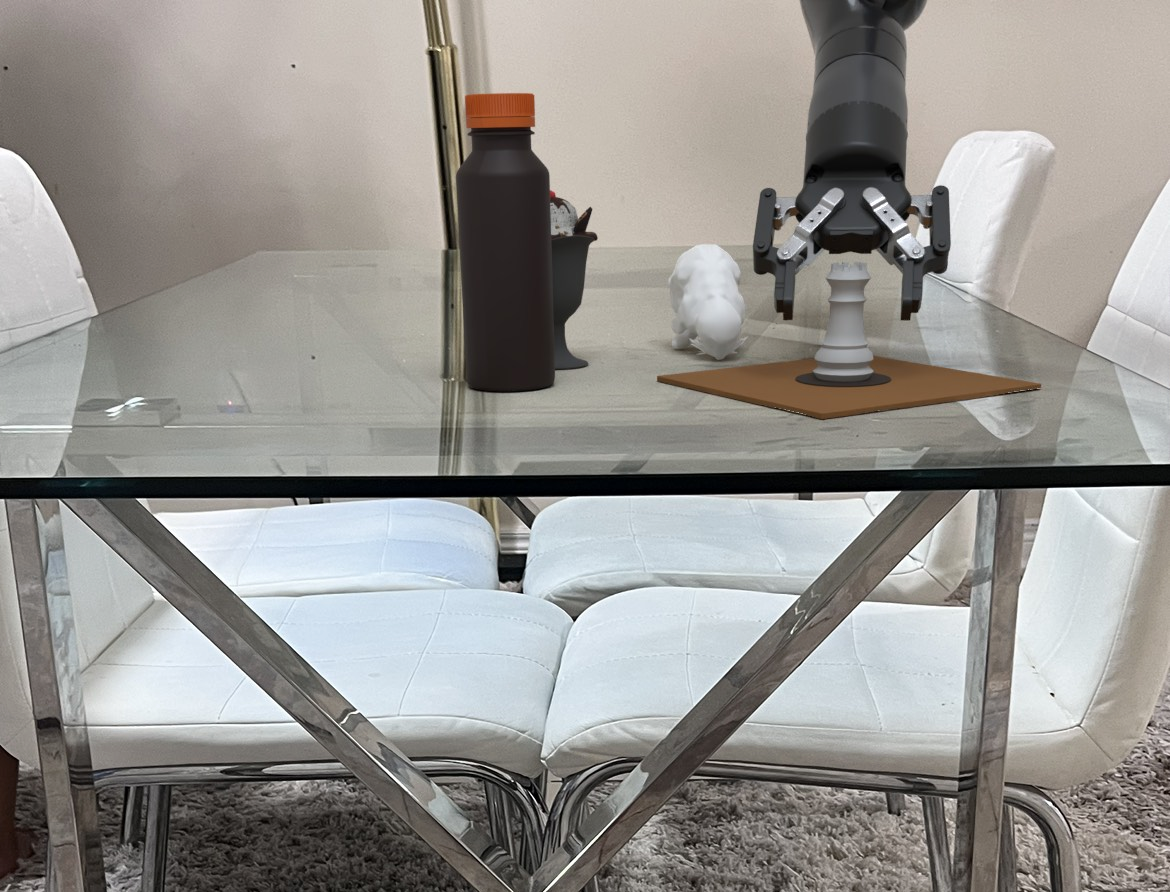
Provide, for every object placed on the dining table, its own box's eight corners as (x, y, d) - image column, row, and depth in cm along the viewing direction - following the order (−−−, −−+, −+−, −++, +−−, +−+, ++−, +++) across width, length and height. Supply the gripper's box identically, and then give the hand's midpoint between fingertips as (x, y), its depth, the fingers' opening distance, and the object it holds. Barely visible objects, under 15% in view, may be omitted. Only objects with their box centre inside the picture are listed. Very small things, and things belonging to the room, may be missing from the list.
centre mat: (1041, 389, 101) (1041, 382, 100) (821, 419, 92) (822, 411, 91) (858, 358, 116) (859, 351, 116) (656, 381, 108) (656, 374, 107)
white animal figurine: (738, 239, 122) (765, 263, 112) (733, 338, 127) (759, 371, 116) (666, 240, 122) (686, 265, 112) (664, 341, 126) (684, 373, 116)
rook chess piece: (812, 382, 102) (817, 266, 99) (812, 373, 106) (817, 261, 103) (874, 382, 102) (882, 265, 98) (872, 373, 106) (879, 260, 102)
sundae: (504, 363, 117) (496, 168, 111) (576, 357, 120) (572, 166, 114) (538, 373, 112) (532, 169, 106) (612, 366, 115) (610, 167, 109)
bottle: (514, 375, 111) (503, 96, 103) (574, 384, 107) (567, 92, 99) (448, 386, 107) (431, 95, 99) (507, 395, 103) (495, 92, 94)
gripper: (761, 100, 104) (745, 278, 98) (958, 95, 102) (954, 277, 96) (762, 176, 111) (748, 346, 105) (947, 173, 108) (943, 347, 103)
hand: (846, 313), depth 101 cm, fingers open, 8 cm apart
